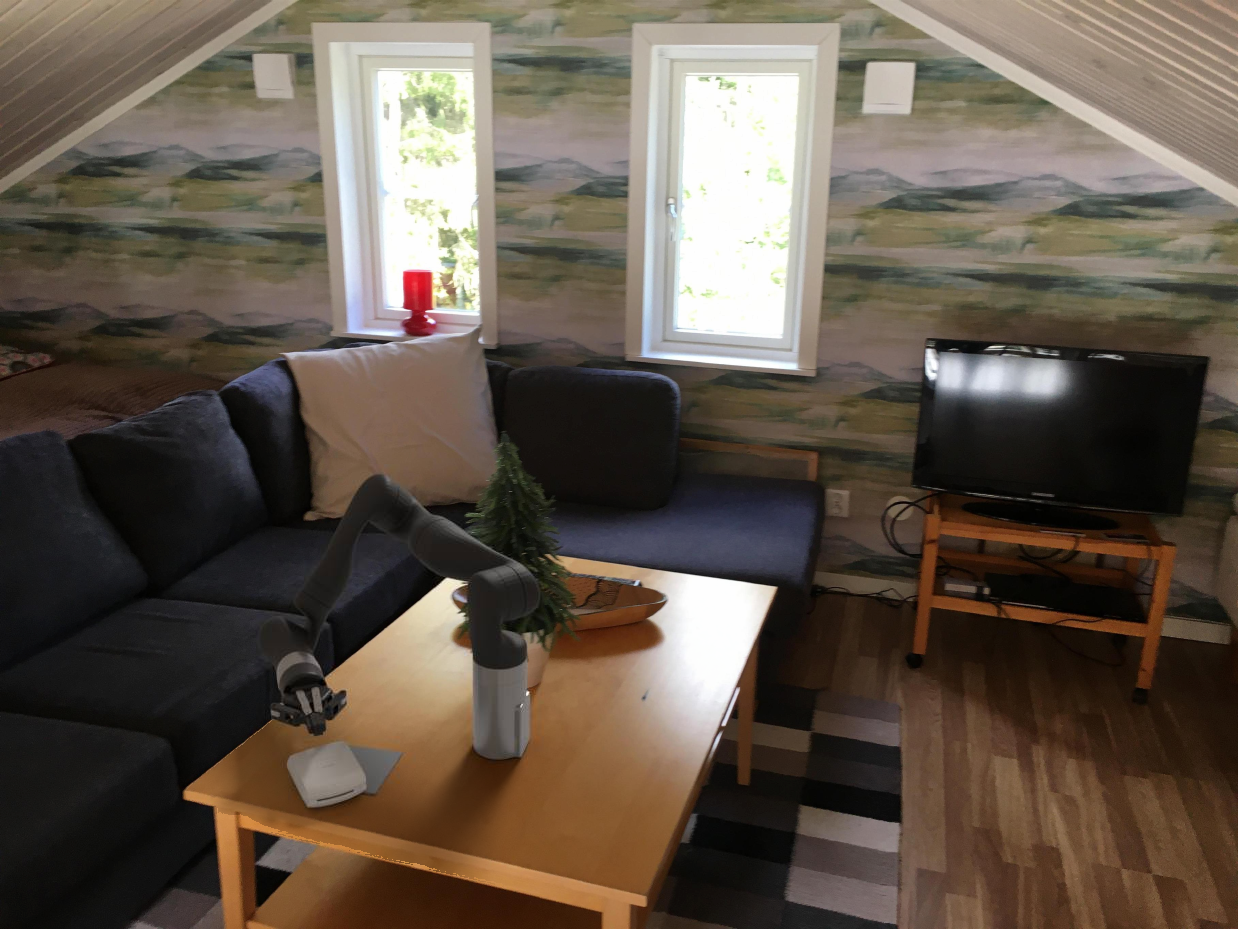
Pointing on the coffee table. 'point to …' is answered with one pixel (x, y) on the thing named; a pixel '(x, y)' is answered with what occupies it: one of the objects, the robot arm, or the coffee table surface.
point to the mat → (375, 765)
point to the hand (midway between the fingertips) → (318, 730)
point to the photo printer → (327, 774)
